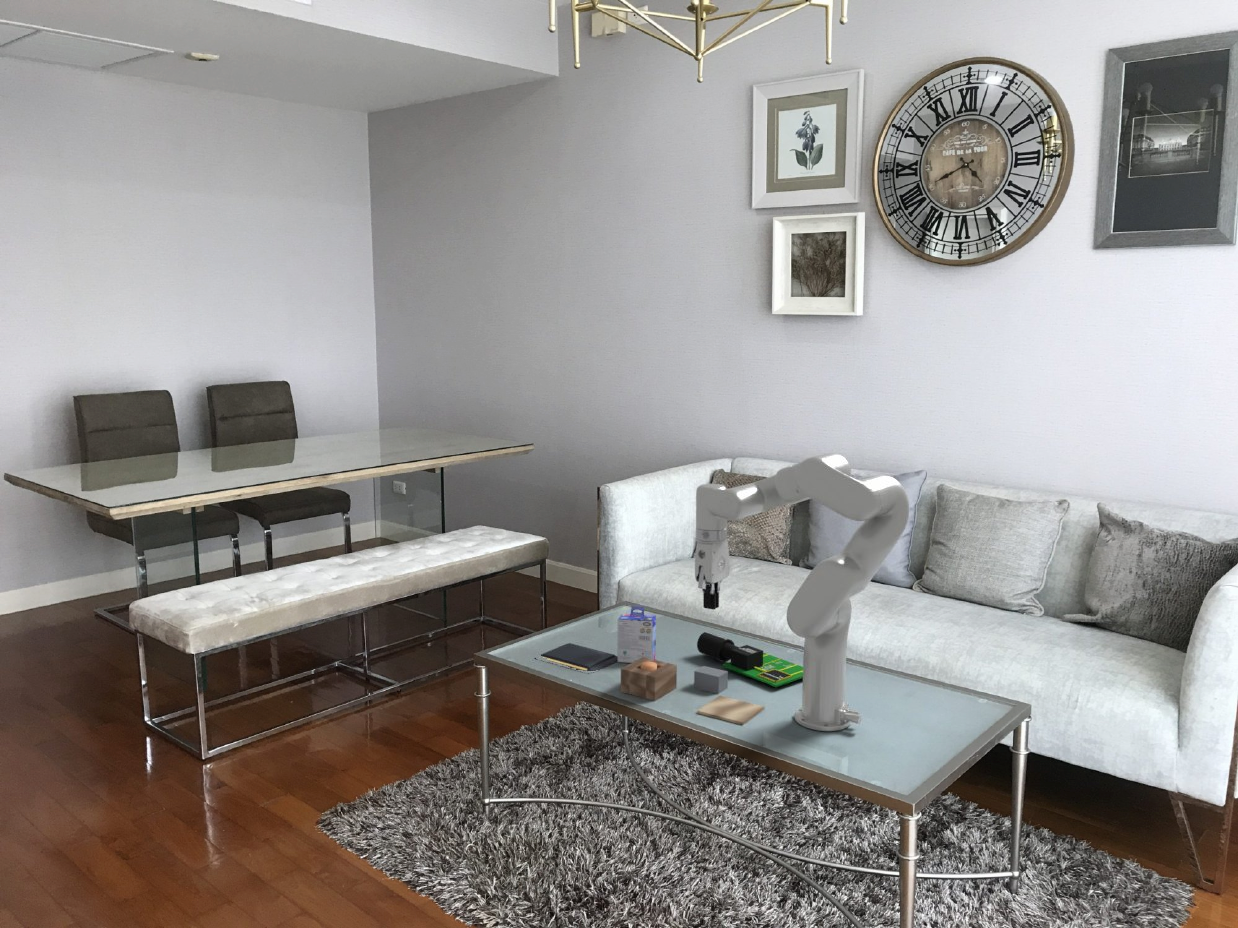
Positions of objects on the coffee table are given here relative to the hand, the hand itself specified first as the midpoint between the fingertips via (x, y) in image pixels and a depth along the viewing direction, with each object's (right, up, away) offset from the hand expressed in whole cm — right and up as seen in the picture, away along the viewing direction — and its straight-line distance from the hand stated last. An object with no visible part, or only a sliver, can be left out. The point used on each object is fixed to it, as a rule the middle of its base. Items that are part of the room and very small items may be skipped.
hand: (711, 607), depth 242 cm
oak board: (+4, -23, -11) cm, 25 cm away
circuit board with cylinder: (+13, -19, +17) cm, 28 cm away
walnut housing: (-15, -21, +2) cm, 26 cm away
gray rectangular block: (0, -21, +3) cm, 21 cm away
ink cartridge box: (-18, -18, +23) cm, 34 cm away
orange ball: (-15, -18, +1) cm, 24 cm away
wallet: (-34, -18, +24) cm, 46 cm away
